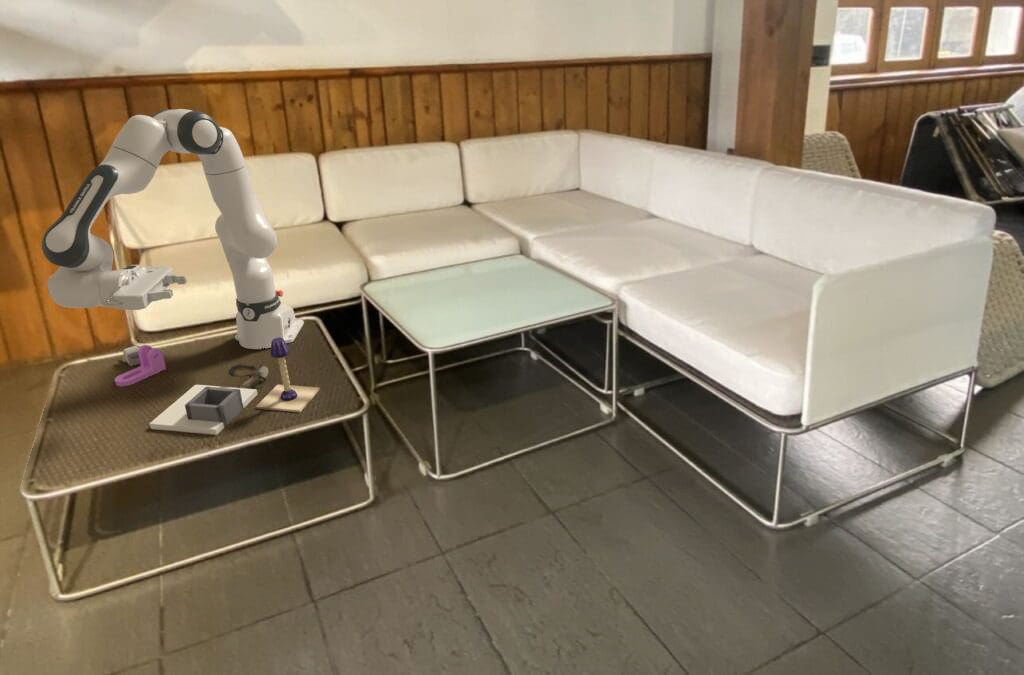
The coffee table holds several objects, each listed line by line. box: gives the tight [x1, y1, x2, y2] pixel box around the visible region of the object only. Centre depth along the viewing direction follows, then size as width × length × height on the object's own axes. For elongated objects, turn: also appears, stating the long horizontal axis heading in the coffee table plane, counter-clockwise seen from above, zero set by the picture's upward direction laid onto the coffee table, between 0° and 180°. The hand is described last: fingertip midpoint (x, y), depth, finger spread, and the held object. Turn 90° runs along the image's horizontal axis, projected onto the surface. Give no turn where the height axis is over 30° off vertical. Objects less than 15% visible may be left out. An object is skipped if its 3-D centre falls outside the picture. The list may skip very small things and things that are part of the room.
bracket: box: [114, 344, 167, 387], centre depth 207 cm, size 13×6×7 cm, turn 148°
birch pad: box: [255, 384, 320, 413], centre depth 194 cm, size 12×12×1 cm
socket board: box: [149, 384, 258, 436], centre depth 188 cm, size 20×18×6 cm
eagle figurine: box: [227, 360, 269, 389], centre depth 200 cm, size 8×7×9 cm
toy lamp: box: [270, 338, 297, 401], centre depth 190 cm, size 5×5×17 cm
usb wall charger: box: [122, 345, 141, 367], centre depth 216 cm, size 4×7×4 cm, turn 40°
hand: (179, 286), depth 180 cm, fingers open, 8 cm apart
